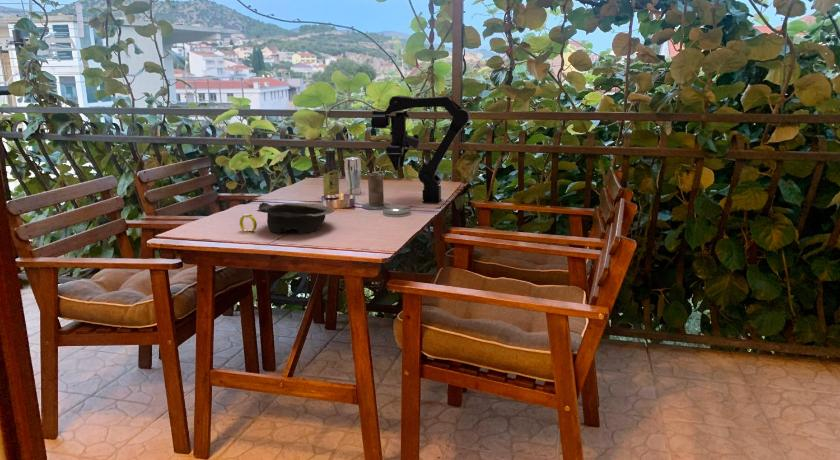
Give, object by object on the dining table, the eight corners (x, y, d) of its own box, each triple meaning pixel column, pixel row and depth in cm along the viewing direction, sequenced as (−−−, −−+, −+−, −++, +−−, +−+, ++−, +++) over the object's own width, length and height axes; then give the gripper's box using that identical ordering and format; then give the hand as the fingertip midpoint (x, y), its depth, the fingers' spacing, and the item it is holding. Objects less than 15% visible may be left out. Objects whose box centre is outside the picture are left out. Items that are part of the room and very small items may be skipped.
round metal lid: (414, 212, 223) (414, 205, 222) (405, 218, 214) (405, 211, 213) (388, 210, 226) (388, 204, 225) (379, 216, 217) (378, 210, 216)
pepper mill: (380, 203, 233) (379, 170, 230) (383, 206, 229) (382, 172, 226) (369, 204, 232) (367, 171, 228) (372, 207, 228) (370, 173, 224)
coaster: (394, 204, 234) (394, 203, 234) (384, 210, 224) (384, 209, 224) (368, 202, 237) (368, 201, 237) (357, 209, 227) (357, 207, 227)
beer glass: (361, 195, 252) (359, 159, 248) (344, 195, 252) (343, 159, 248) (363, 191, 258) (361, 157, 255) (347, 191, 259) (345, 157, 255)
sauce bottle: (331, 200, 242) (329, 151, 237) (320, 198, 246) (317, 150, 241) (343, 197, 247) (340, 149, 242) (332, 195, 251) (329, 148, 246)
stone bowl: (247, 237, 191) (245, 208, 189) (276, 223, 215) (275, 197, 213) (323, 238, 187) (321, 208, 185) (343, 223, 212) (342, 197, 210)
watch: (239, 232, 198) (236, 215, 197) (244, 230, 201) (242, 213, 199) (253, 233, 196) (251, 215, 194) (259, 230, 198) (256, 213, 197)
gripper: (414, 131, 222) (414, 173, 226) (423, 126, 240) (423, 165, 244) (385, 131, 224) (386, 172, 228) (395, 126, 242) (396, 164, 246)
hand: (399, 168), depth 237 cm, fingers open, 9 cm apart
